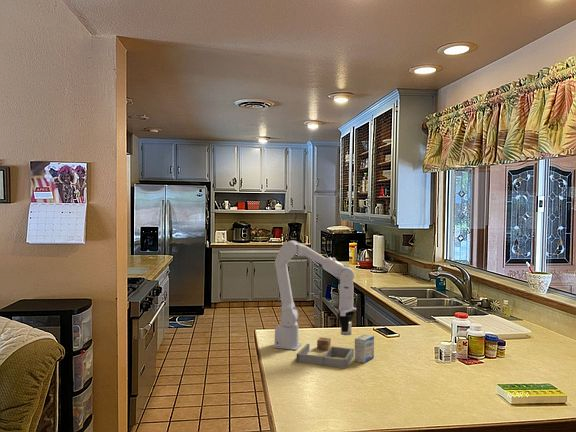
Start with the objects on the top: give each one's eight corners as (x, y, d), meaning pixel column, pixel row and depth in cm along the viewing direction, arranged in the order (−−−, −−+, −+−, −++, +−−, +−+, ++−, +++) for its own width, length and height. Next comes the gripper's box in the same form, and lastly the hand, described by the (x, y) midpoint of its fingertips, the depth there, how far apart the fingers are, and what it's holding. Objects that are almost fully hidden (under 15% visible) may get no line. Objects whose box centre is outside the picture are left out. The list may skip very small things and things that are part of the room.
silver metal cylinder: (339, 334, 185) (339, 322, 184) (341, 332, 189) (342, 320, 189) (350, 335, 183) (350, 323, 183) (352, 333, 187) (352, 320, 187)
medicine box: (364, 363, 170) (364, 340, 170) (354, 360, 173) (354, 338, 173) (374, 358, 176) (374, 335, 176) (363, 355, 179) (364, 333, 179)
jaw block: (317, 349, 186) (317, 340, 186) (319, 346, 190) (320, 337, 190) (327, 351, 185) (327, 341, 185) (330, 347, 189) (330, 338, 189)
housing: (296, 362, 171) (296, 354, 171) (307, 351, 184) (307, 343, 184) (346, 368, 165) (346, 360, 165) (353, 356, 178) (353, 348, 178)
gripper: (352, 301, 178) (352, 335, 178) (359, 294, 191) (358, 326, 192) (335, 299, 180) (334, 333, 180) (342, 293, 194) (342, 324, 194)
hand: (346, 330), depth 186 cm, fingers closed on silver metal cylinder, 4 cm apart
